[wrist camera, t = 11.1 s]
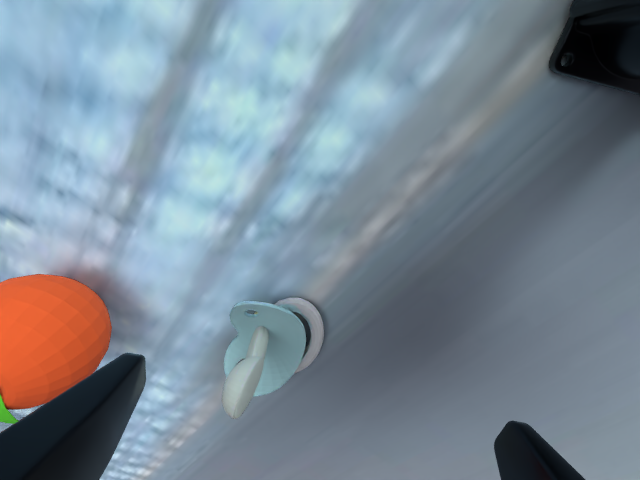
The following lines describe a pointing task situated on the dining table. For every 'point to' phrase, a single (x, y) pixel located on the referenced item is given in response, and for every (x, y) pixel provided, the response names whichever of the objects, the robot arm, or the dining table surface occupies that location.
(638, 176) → the dining table surface
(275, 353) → the pacifier
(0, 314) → the clementine
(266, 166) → the dining table surface
